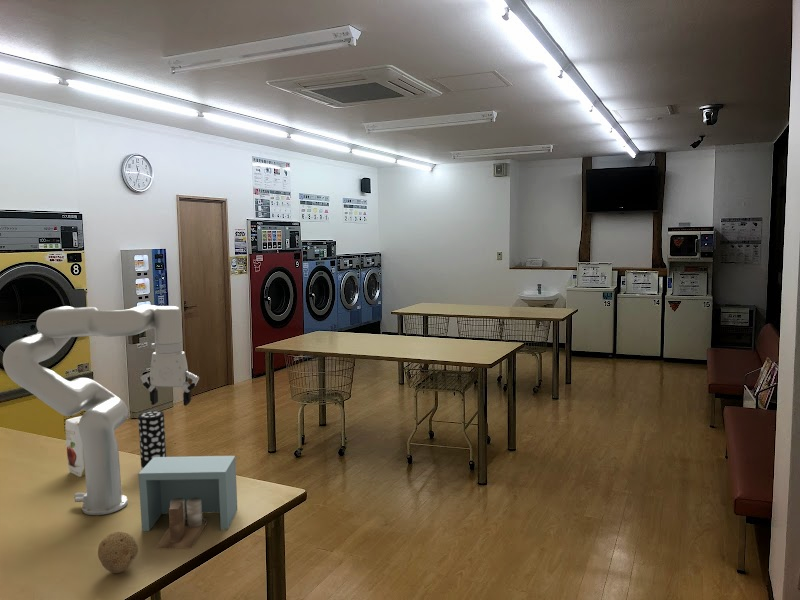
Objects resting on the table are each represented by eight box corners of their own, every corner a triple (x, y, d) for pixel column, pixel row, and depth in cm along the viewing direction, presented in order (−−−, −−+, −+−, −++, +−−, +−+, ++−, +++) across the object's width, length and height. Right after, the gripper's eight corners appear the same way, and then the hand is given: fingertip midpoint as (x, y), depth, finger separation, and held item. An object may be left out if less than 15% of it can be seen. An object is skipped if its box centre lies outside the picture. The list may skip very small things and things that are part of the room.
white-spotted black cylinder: (158, 475, 215) (154, 418, 212) (136, 473, 216) (132, 417, 214) (171, 465, 223) (168, 411, 220) (150, 464, 224) (147, 410, 222)
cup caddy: (157, 549, 167) (155, 510, 166) (175, 523, 181) (173, 487, 179) (191, 548, 167) (189, 509, 166) (206, 523, 181) (204, 487, 180)
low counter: (141, 531, 176) (138, 473, 174) (156, 511, 188) (153, 457, 186) (227, 529, 177) (225, 471, 175) (237, 509, 189) (235, 455, 187)
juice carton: (87, 465, 223) (83, 414, 221) (100, 471, 218) (96, 418, 216) (66, 472, 217) (61, 419, 215) (78, 478, 212) (74, 424, 210)
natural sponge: (117, 558, 162) (115, 522, 161) (146, 563, 159) (144, 527, 158) (91, 577, 153) (88, 539, 152) (121, 583, 151) (118, 544, 150)
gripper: (134, 350, 182) (136, 407, 184) (193, 351, 182) (194, 408, 184) (145, 344, 189) (147, 399, 192) (202, 346, 189) (203, 401, 191)
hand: (170, 403), depth 188 cm, fingers open, 9 cm apart
